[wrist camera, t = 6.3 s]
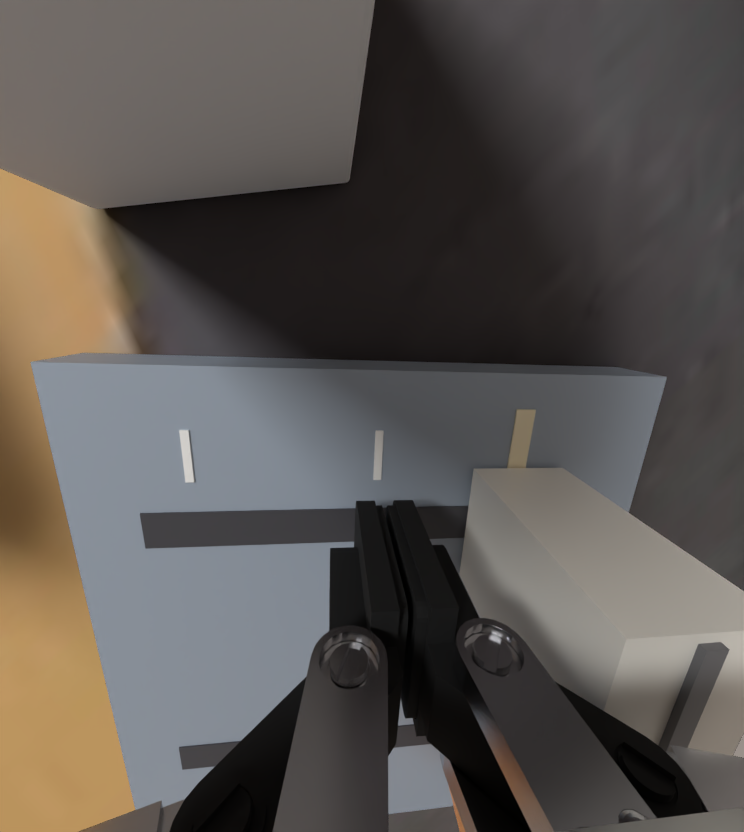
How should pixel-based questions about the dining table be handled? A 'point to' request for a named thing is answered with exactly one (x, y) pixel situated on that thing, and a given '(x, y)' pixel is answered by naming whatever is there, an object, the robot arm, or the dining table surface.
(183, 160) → the milk carton
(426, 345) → the dining table surface
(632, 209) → the dining table surface
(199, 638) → the fader console
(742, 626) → the cream knob
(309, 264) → the dining table surface
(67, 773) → the dining table surface
